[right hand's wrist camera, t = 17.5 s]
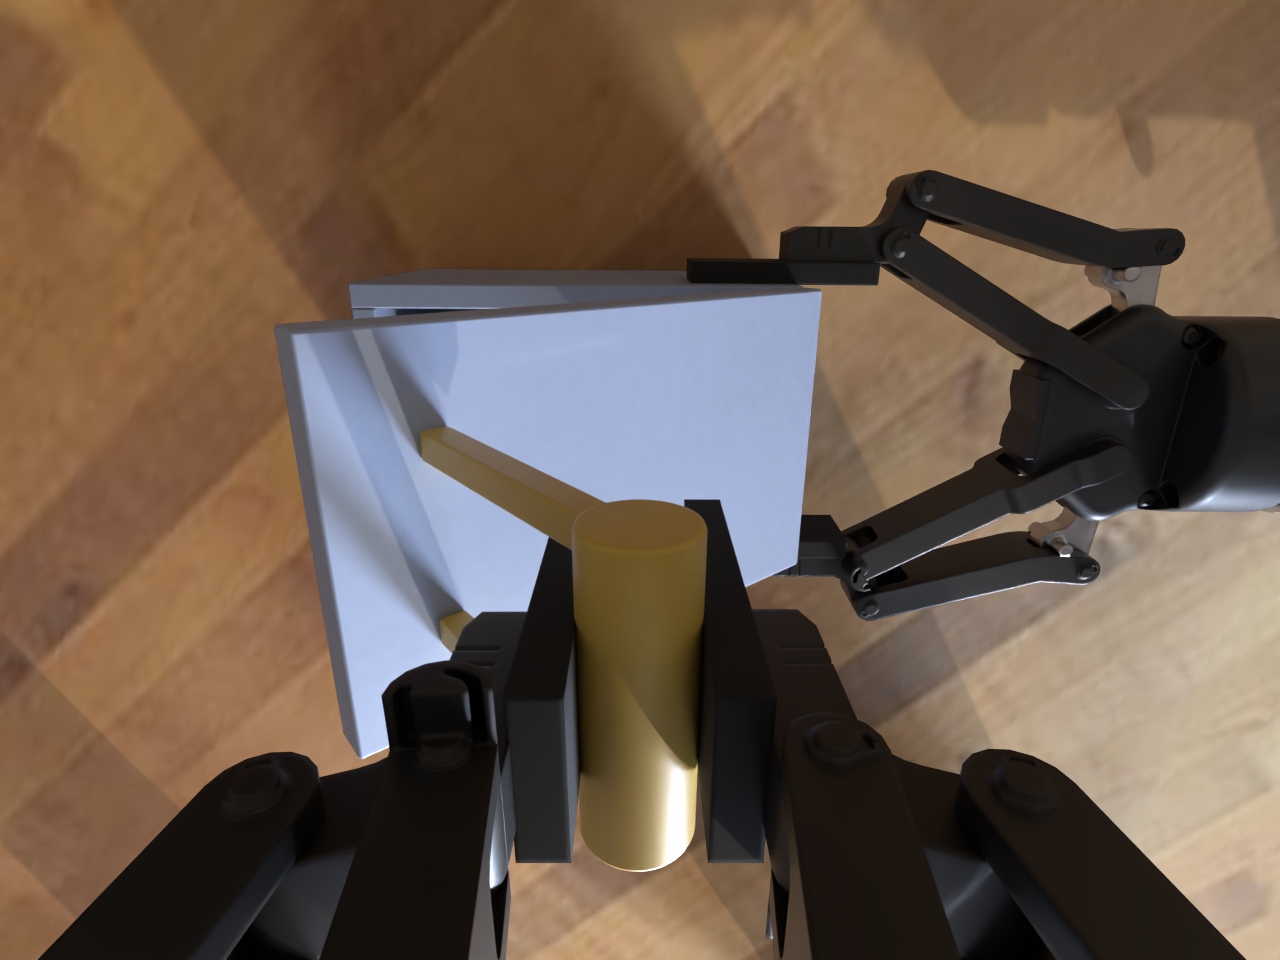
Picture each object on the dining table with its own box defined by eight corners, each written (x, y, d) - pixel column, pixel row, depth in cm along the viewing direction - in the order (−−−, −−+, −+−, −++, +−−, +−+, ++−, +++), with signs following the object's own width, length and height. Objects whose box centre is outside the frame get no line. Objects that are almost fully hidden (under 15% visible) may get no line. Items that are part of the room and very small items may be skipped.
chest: (444, 472, 35) (382, 548, 27) (424, 268, 32) (347, 283, 23) (748, 474, 35) (781, 551, 27) (761, 270, 32) (803, 286, 23)
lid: (342, 733, 17) (544, 1063, 10) (272, 324, 14) (505, 420, 7) (772, 553, 27) (1021, 663, 20) (792, 286, 23) (1101, 312, 17)
